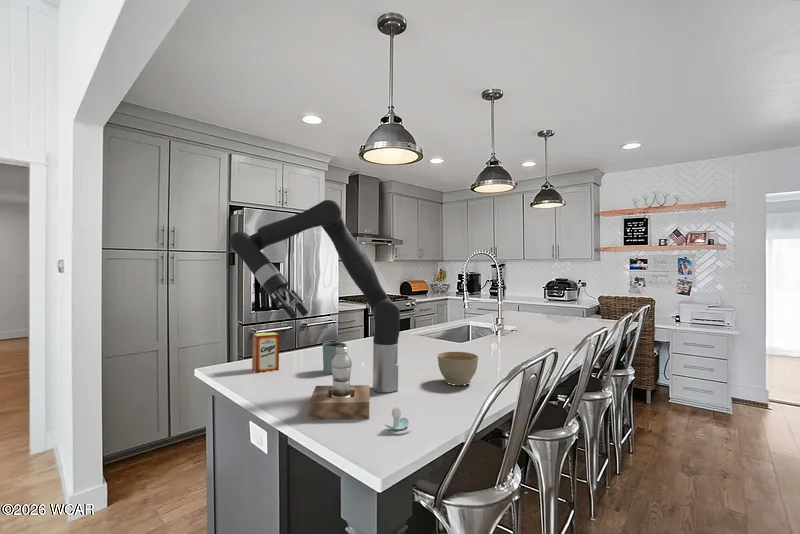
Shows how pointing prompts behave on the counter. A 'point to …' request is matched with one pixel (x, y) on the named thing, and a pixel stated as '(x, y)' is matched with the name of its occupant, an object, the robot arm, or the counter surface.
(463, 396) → the counter surface
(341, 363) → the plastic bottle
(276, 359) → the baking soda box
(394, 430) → the pacifier
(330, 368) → the drinking glass
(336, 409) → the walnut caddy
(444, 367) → the planter bowl
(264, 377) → the counter surface
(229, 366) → the counter surface
